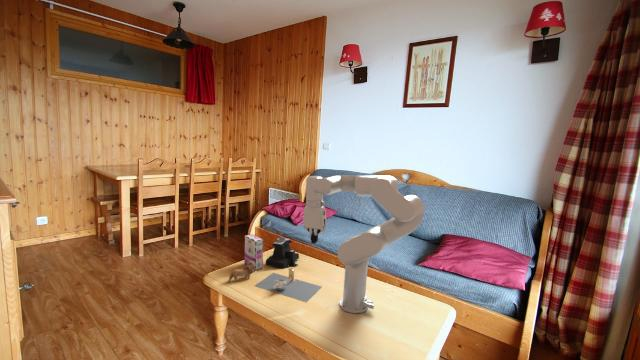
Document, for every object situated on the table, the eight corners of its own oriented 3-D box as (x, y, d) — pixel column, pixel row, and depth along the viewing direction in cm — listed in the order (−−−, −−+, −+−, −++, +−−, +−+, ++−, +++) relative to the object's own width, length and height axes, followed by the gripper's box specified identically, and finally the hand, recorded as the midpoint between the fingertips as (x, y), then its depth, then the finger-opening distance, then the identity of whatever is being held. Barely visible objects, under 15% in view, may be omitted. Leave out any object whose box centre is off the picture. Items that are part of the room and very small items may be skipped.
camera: (280, 233, 187) (302, 236, 180) (281, 257, 188) (303, 260, 182) (264, 241, 172) (288, 244, 166) (266, 267, 174) (289, 271, 168)
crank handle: (280, 295, 141) (280, 284, 140) (268, 291, 143) (268, 280, 143) (298, 279, 156) (298, 270, 155) (287, 276, 158) (287, 267, 157)
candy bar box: (263, 268, 170) (263, 239, 167) (255, 271, 166) (255, 241, 164) (251, 261, 177) (252, 233, 175) (243, 263, 174) (244, 235, 171)
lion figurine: (251, 275, 161) (251, 258, 160) (257, 279, 157) (257, 262, 156) (224, 283, 151) (224, 266, 150) (229, 288, 148) (229, 270, 146)
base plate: (322, 289, 151) (322, 286, 151) (306, 304, 137) (306, 302, 136) (273, 274, 163) (273, 272, 163) (254, 288, 149) (254, 285, 148)
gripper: (333, 203, 142) (332, 242, 145) (303, 200, 148) (303, 238, 151) (326, 206, 136) (326, 247, 138) (295, 203, 142) (296, 242, 144)
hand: (314, 242), depth 145 cm, fingers closed
